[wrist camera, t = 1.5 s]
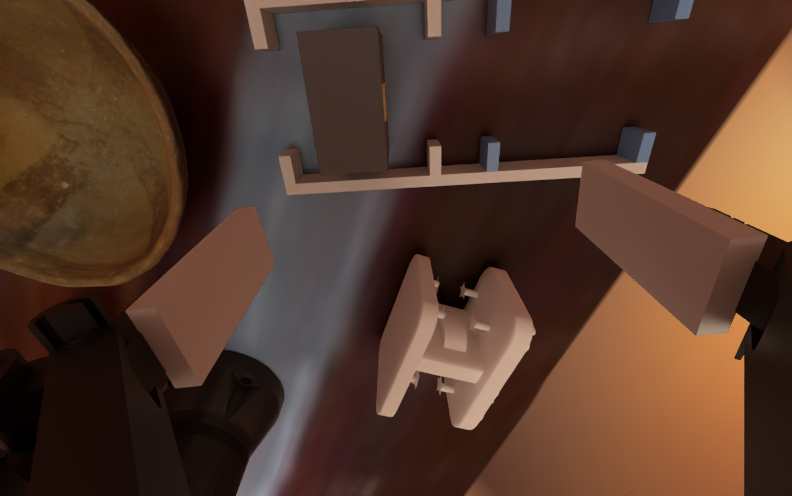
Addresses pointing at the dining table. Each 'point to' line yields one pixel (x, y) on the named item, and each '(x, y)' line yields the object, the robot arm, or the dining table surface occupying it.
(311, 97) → the dark brown block
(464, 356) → the cable organizer
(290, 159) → the slotted rail
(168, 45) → the dining table surface
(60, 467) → the robot arm
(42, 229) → the bowl
